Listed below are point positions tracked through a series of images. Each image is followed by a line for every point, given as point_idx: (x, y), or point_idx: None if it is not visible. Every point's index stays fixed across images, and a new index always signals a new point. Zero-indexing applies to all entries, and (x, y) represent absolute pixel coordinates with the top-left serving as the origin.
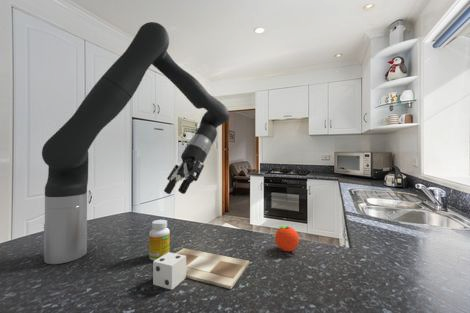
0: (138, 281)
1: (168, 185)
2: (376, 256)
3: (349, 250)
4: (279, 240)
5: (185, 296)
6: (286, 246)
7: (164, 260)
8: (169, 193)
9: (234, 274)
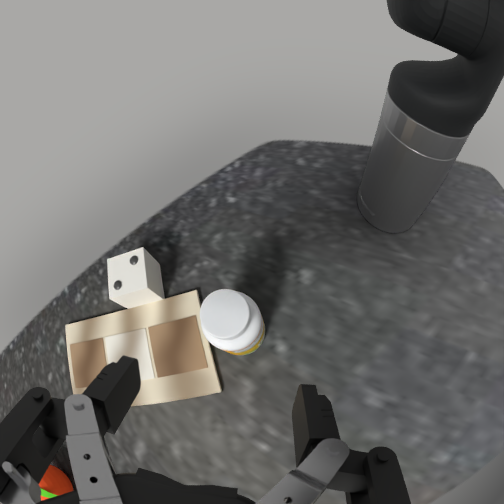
0: (187, 253)
1: (304, 414)
2: None
3: None
4: (49, 468)
5: (104, 277)
6: None
7: (129, 261)
8: (293, 410)
9: (72, 353)
